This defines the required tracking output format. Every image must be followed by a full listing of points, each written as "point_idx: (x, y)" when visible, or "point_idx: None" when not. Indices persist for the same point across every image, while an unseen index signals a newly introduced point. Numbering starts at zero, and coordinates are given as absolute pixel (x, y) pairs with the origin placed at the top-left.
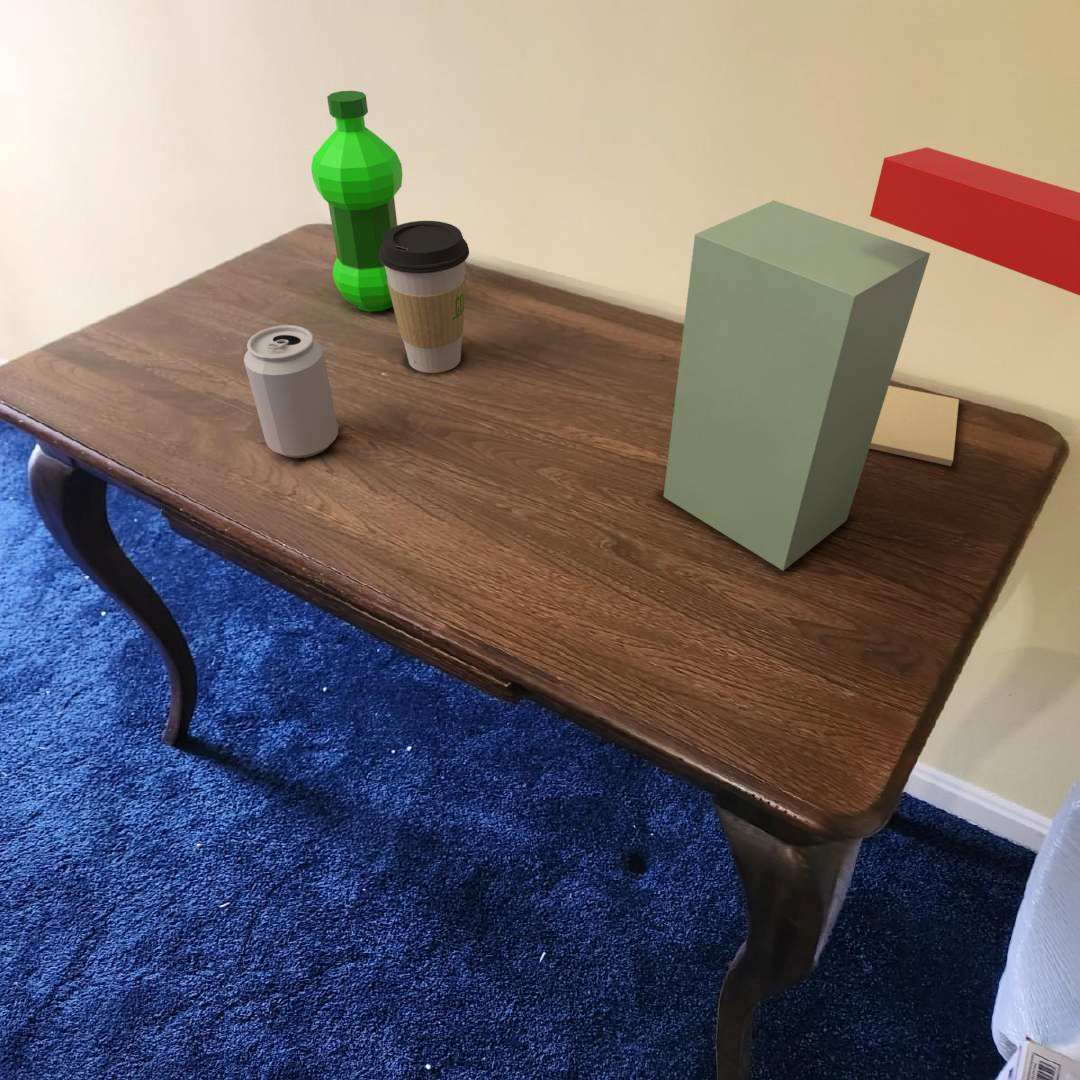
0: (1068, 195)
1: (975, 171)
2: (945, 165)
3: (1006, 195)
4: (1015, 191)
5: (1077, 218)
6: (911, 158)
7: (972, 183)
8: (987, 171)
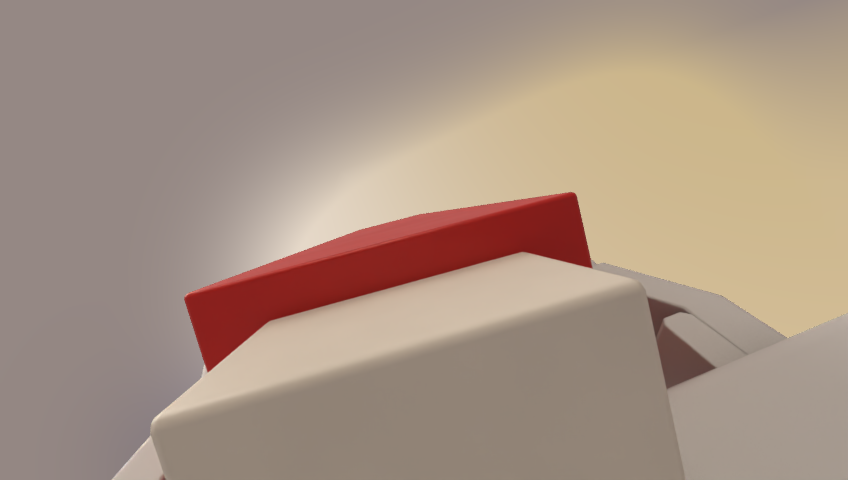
0: (417, 217)
1: (395, 221)
2: (386, 223)
3: (345, 235)
4: (368, 229)
5: (326, 242)
6: (377, 225)
7: (354, 232)
8: (407, 218)
